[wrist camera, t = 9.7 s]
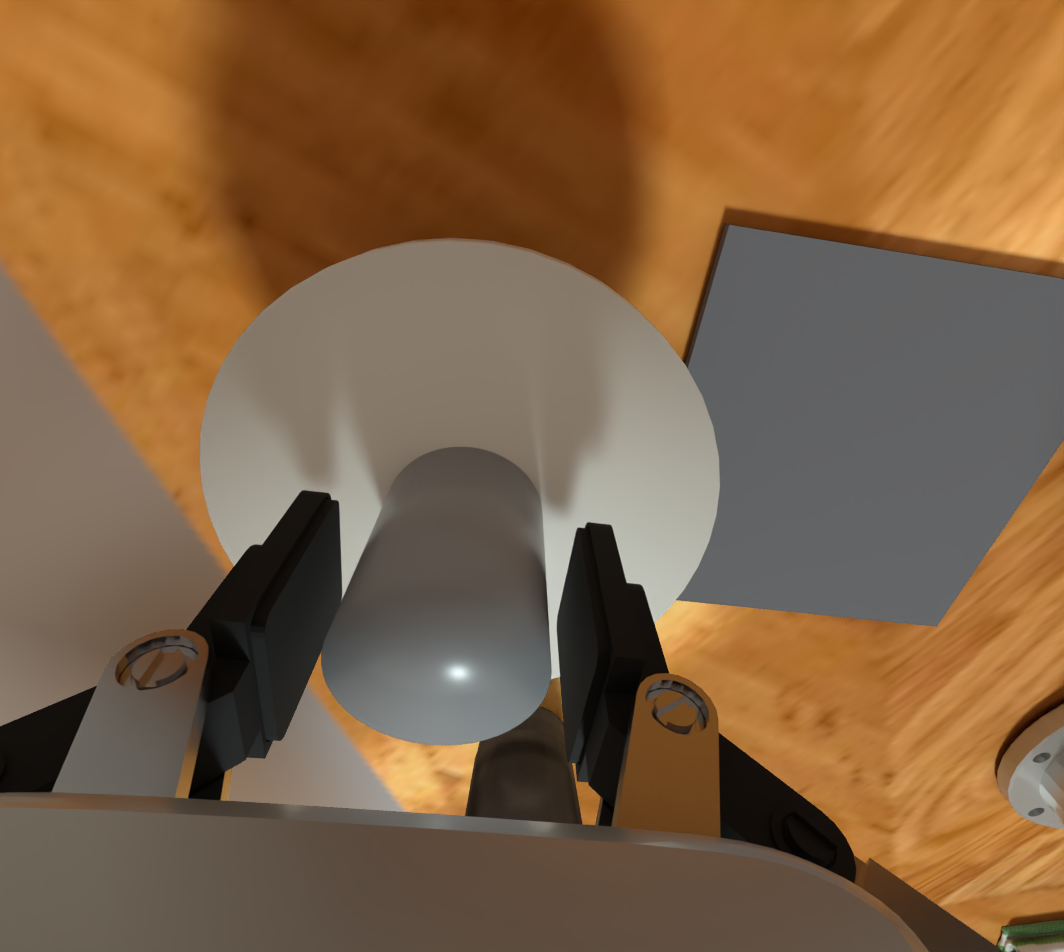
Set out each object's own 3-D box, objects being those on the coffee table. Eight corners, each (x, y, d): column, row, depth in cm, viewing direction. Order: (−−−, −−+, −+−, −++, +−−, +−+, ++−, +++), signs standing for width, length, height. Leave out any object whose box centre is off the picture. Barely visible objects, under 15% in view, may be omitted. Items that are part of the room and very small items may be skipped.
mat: (1149, 292, 18) (1162, 294, 18) (930, 620, 25) (936, 626, 25) (725, 224, 17) (729, 224, 17) (620, 588, 24) (622, 594, 24)
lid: (779, 281, 12) (977, 358, 7) (644, 679, 18) (694, 881, 13) (177, 195, 11) (-136, 207, 6) (250, 646, 17) (131, 851, 12)
